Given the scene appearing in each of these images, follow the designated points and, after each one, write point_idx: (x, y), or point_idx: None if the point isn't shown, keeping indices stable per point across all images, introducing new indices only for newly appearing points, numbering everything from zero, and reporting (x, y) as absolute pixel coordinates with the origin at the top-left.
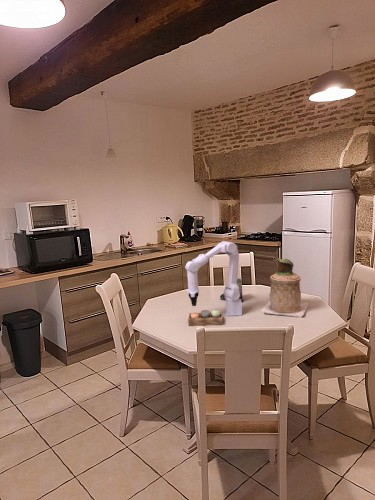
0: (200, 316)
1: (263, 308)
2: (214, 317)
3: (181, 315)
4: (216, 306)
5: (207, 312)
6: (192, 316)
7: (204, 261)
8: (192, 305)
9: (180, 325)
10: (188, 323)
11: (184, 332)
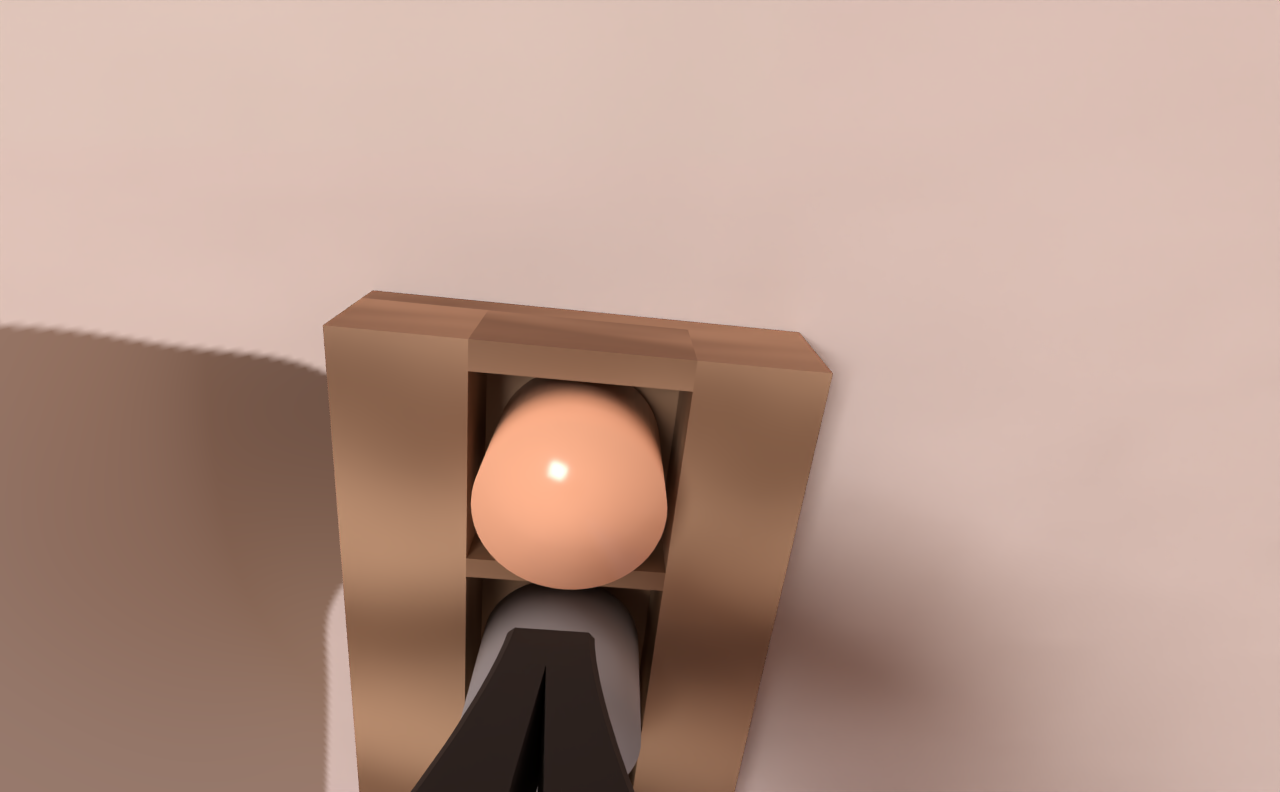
0: None
1: None
2: None
3: (1056, 152)
4: (1220, 763)
5: None
6: (492, 442)
7: None
8: (506, 644)
9: (420, 114)
10: (352, 308)
11: (19, 197)
